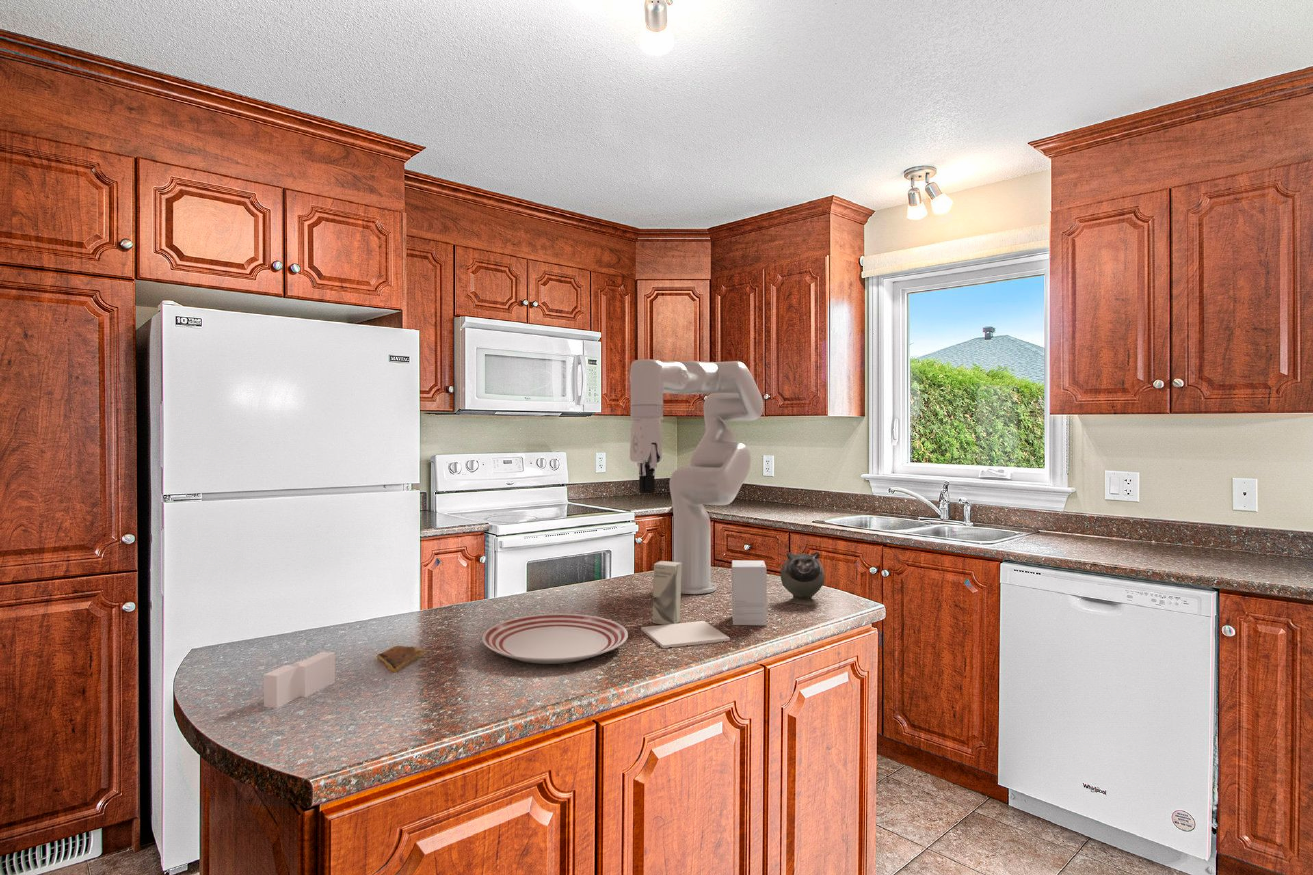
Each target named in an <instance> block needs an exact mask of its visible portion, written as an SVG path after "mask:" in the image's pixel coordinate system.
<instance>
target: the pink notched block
mask: <svg viewBox="0 0 1313 875" xmlns="http://www.w3.org/2000/svg"><path fill="white" fill-rule="evenodd" d="M334 683H336V652H330V651H329V652H328V651H321V652H319V653H317V654H315V655H311V656H310V657H308V658H306V659H304V660H298V661H296V662H293V664H285V665H283V666H282V665H281V667H278V668H276V669H273V670H271V671H269V672H266V673H264V674H263V707H265V708H272V709H273V708H275V709H278V708H280V707H282V706H284V705H286V704H288V703H289V702H292V701H294V700H296V699H297V698H307V697H310V696H312V695H313V694H315V693H317V692H318V691H321V690H323V689H325V688H327V687H329V686H330V685H332V684H334Z"/></svg>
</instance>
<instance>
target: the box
mask: <svg viewBox="0 0 1313 875" xmlns="http://www.w3.org/2000/svg"><path fill="white" fill-rule="evenodd" d="M681 565H682V563H679V562H674V561H665V560H659V561H657V562H655V563H654V564H653V583H652V586H653V587H652V588H653V589H652V591H653V592H652V623H653V624H657V625H668V624H678V623H679V622H680V621H681V598H682V597H681V594H682V593H681Z"/></svg>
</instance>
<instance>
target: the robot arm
mask: <svg viewBox="0 0 1313 875" xmlns="http://www.w3.org/2000/svg"><path fill="white" fill-rule="evenodd" d="M629 383H630V420H631V422H632V423H631V428H630V442H629V444H630V445H629V446H630V448H629V460H630V461H631V462H633V463H636V464H637V468H638V475H639V476H638V482H639V484H638V488H639V491H638V492H639V493H640V494H654V493H655V489H656V488H655V485H656V484H655V482H656V480H655V479H656V478H655V476H656V469H657V468H658V463H660V462H661V461H662V459H663V437H662V436H663V435H662V422H661V420H663V421H664V394H672V395H707V396H706V398H705V400H704V402H703V418H704V426H705V432H704V435H703V436H702V438H701V439H700V441H699V443H698V444H697V446H696V448H695V449H694V451H693V452H692V454H691V458H690V461H689V464H690V466H689V465H688V466H682V467H679V468H677V469H675V470H674V471H673V472H672V473H671V475H670V478H669V491H670V497H671V502H672V513H673V562H679V563H682V565H681V594H683V595H701V594H702V595H703V594H710V593H713V592H715V591H716V590H717V588H718V586H717V584H716V583H715V582H713V581H711V580H712V579H711V578H712V577H711V572H712V571H711V568H712V567H711V563H712V562H711V560H712V557H711V552H712V550H711V549H712V548H711V546H712V545H711V533H712V531H711V529H712V528H711V519H710V516H709V513H708V512H707V509H706V508H705V506H704V505H707V506H709V505H710V506H727V505H729V504H731V503H733V501H734V500H735V498H736V497H737V495H738V494H739V491H740V490H741V487H742V485H744V484H743V483H744V482H745V480H746V478H747V476H748V474H749V471H750V468H751V462H752V461H751V451H750V450H749V448H748V446H746V444H745V443H742V442H739V441H735V435H734V433H733V432H732V430H731V428H730V427H729V425H727V424H726V422H752V421H756V420H758V419H759V418H761V416H762V414H763V412H764V399H763V397H762V394H761V392H760V390H759V388H758V385H757V384H756V381H755V378H754V377H753V374H752V373H751V371H750V370H749V368H748V367H747V366H746V364H744V363H743V362H741V361H738V360H733V361H715V362H714V361H709V362H708V361H698V360H697V361H696V360H689V361H688V360H687V361H686V360H685V361H683V360H682V361H676V360H675V361H674V360H671V361H669V360H668V361H666V360H665V361H661V360H658V359H648V358H647V359H646V358H644V359H635V360H633V361H632V363H630V372H629Z"/></svg>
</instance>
